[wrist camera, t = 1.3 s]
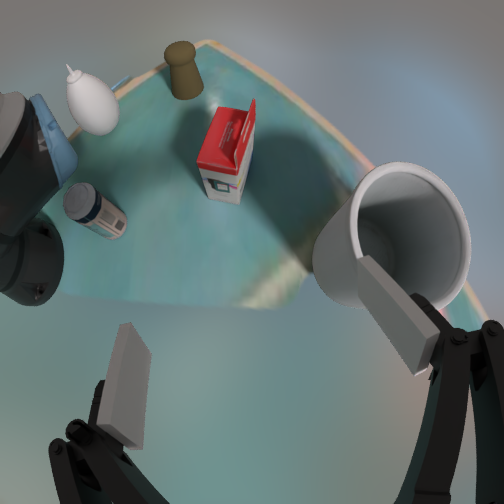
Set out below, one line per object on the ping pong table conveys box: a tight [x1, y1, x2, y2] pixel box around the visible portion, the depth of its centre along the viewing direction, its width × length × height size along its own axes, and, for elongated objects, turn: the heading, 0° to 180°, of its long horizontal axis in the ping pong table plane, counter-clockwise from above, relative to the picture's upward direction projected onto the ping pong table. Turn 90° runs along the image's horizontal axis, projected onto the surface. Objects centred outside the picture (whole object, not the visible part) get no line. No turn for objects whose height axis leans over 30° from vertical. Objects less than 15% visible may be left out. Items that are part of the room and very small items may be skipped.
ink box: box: [196, 99, 256, 205], centre depth 34 cm, size 8×5×15 cm, turn 166°
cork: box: [164, 41, 204, 100], centre depth 39 cm, size 6×6×11 cm
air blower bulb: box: [66, 64, 120, 136], centre depth 34 cm, size 8×8×18 cm
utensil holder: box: [312, 162, 471, 311], centre depth 31 cm, size 15×15×18 cm
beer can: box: [63, 183, 127, 240], centre depth 34 cm, size 5×5×12 cm
